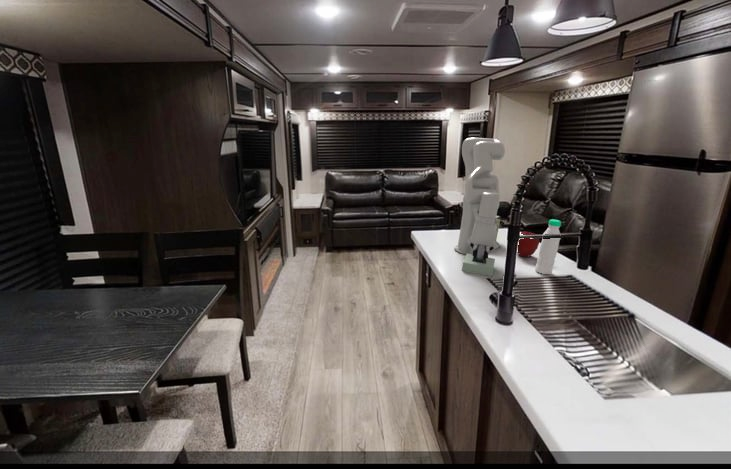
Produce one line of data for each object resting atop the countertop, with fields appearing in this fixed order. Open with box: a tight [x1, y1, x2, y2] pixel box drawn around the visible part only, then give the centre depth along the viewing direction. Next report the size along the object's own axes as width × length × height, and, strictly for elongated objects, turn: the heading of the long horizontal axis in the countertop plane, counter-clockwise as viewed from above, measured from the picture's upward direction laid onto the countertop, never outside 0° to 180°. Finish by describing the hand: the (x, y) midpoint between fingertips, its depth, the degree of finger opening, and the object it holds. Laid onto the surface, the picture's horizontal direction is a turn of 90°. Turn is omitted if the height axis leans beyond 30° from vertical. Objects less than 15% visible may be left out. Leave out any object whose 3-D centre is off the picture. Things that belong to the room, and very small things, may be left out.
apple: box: [517, 230, 540, 258], centre depth 175 cm, size 12×12×13 cm
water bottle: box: [534, 218, 562, 275], centre depth 153 cm, size 7×7×25 cm
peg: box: [475, 244, 487, 263], centre depth 154 cm, size 4×4×11 cm
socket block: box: [461, 254, 496, 277], centre depth 156 cm, size 13×13×4 cm
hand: (479, 258), depth 155 cm, fingers closed on peg, 4 cm apart
